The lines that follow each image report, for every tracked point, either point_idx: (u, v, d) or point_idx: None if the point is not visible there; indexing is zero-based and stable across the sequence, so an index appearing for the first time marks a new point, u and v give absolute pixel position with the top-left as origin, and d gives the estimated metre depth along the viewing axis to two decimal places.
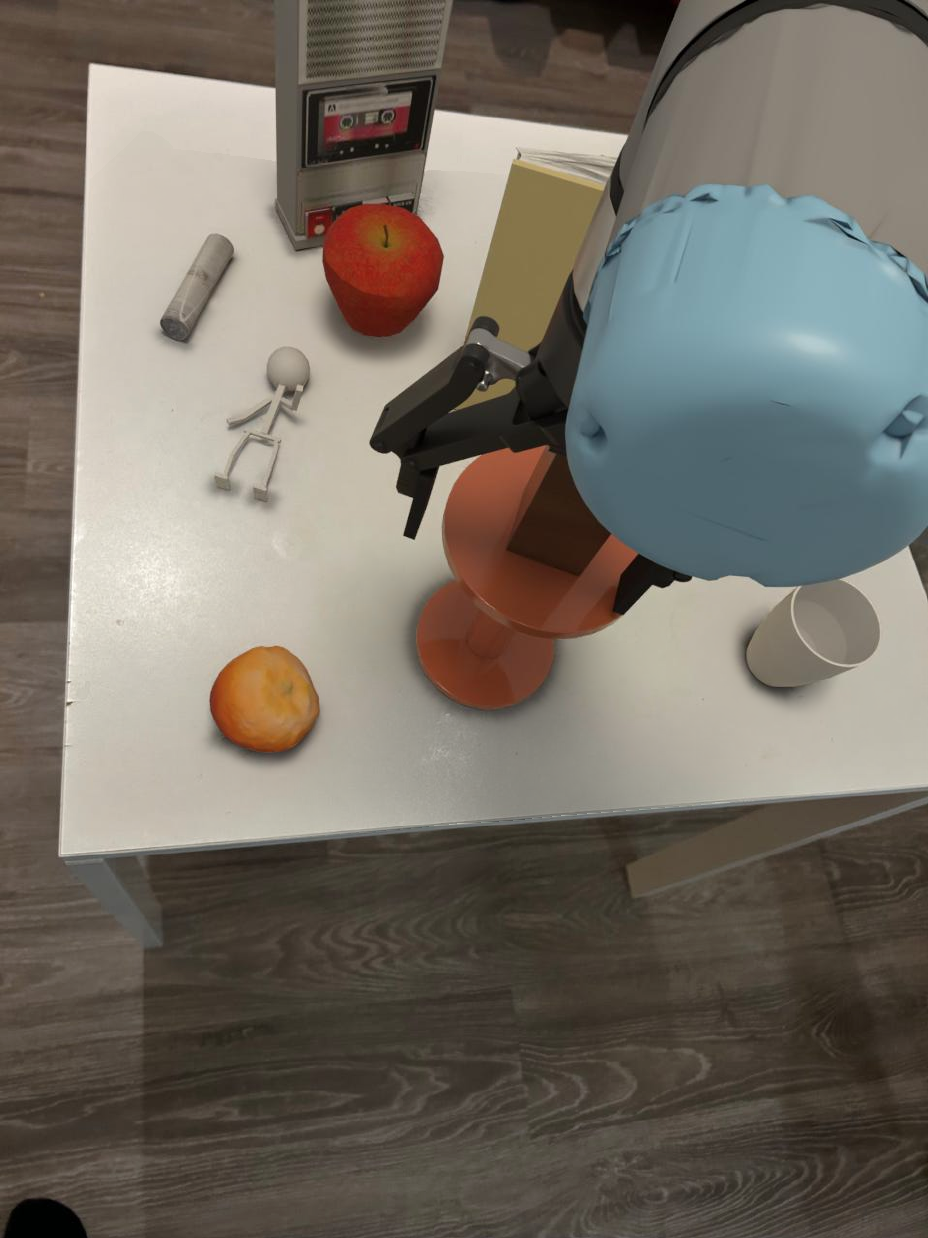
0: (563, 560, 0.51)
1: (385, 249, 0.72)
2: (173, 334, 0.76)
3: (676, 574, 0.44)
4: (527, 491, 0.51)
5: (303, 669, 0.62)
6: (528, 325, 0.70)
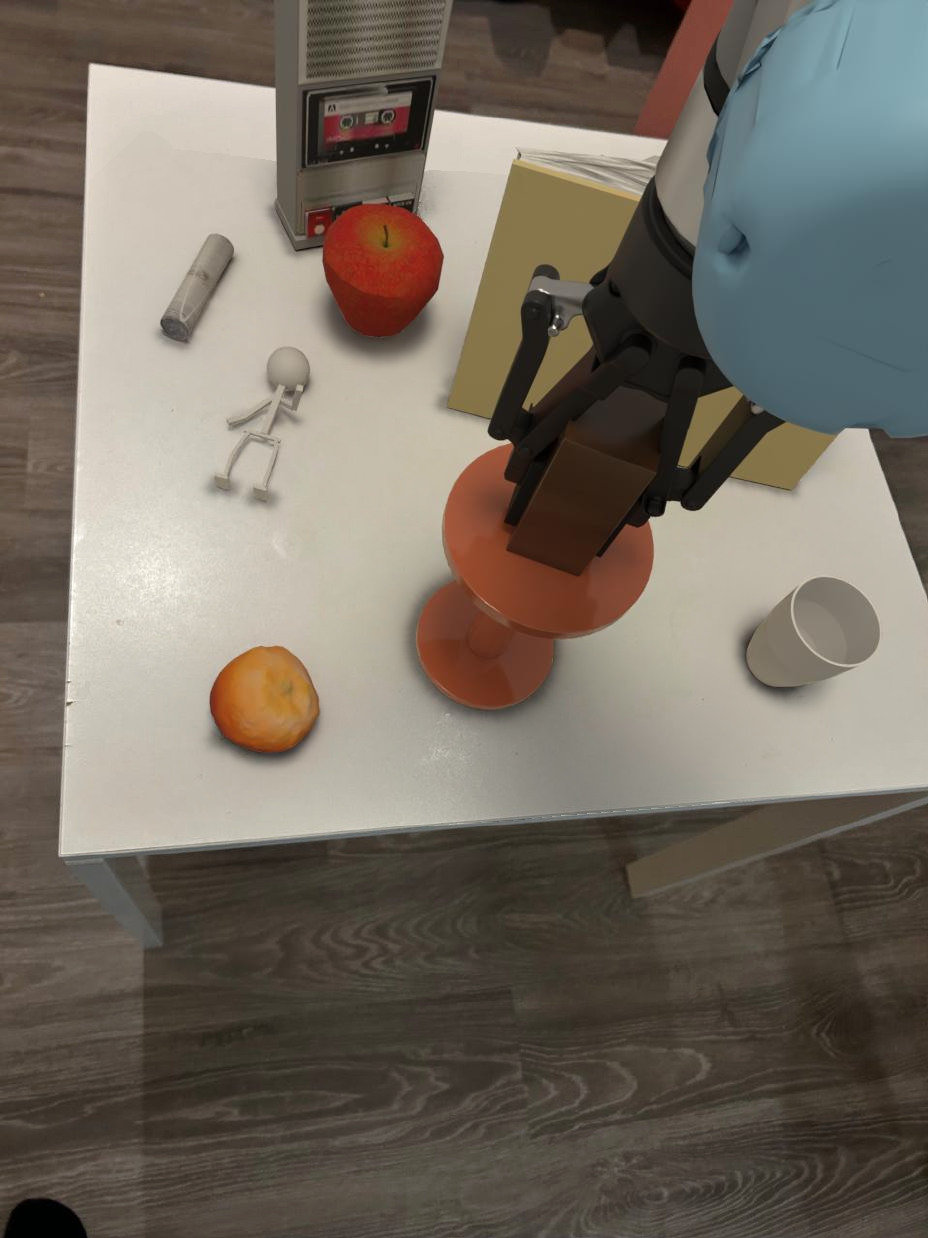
0: (563, 560, 0.50)
1: (385, 249, 0.72)
2: (173, 334, 0.76)
3: (649, 507, 0.45)
4: None
5: (303, 669, 0.62)
6: None
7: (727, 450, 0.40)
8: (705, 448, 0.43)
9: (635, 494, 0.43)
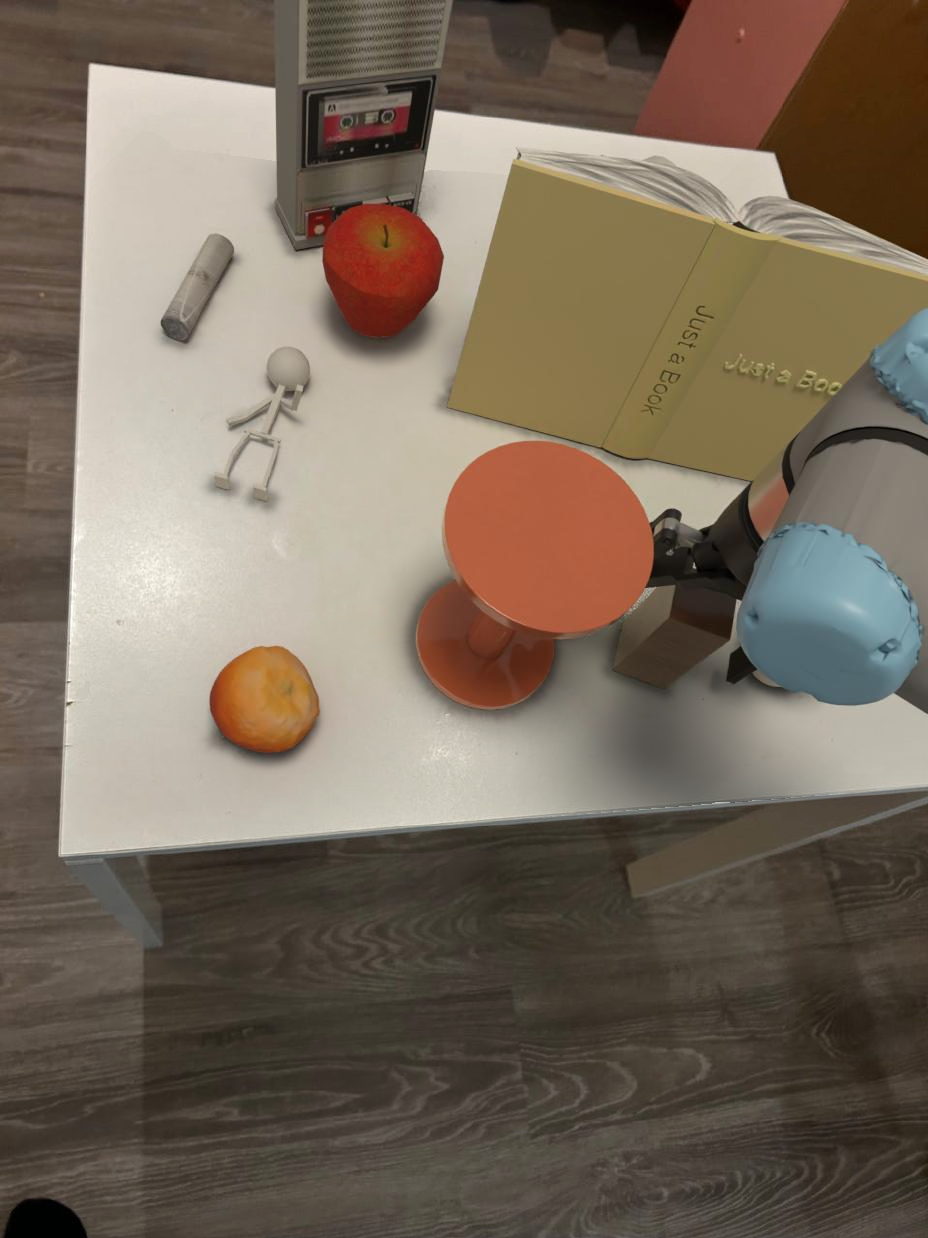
0: (654, 679, 0.71)
1: (385, 249, 0.72)
2: (173, 334, 0.76)
3: None
4: (628, 630, 0.71)
5: (303, 669, 0.62)
6: (528, 325, 0.70)
7: None
8: None
9: (714, 649, 0.63)
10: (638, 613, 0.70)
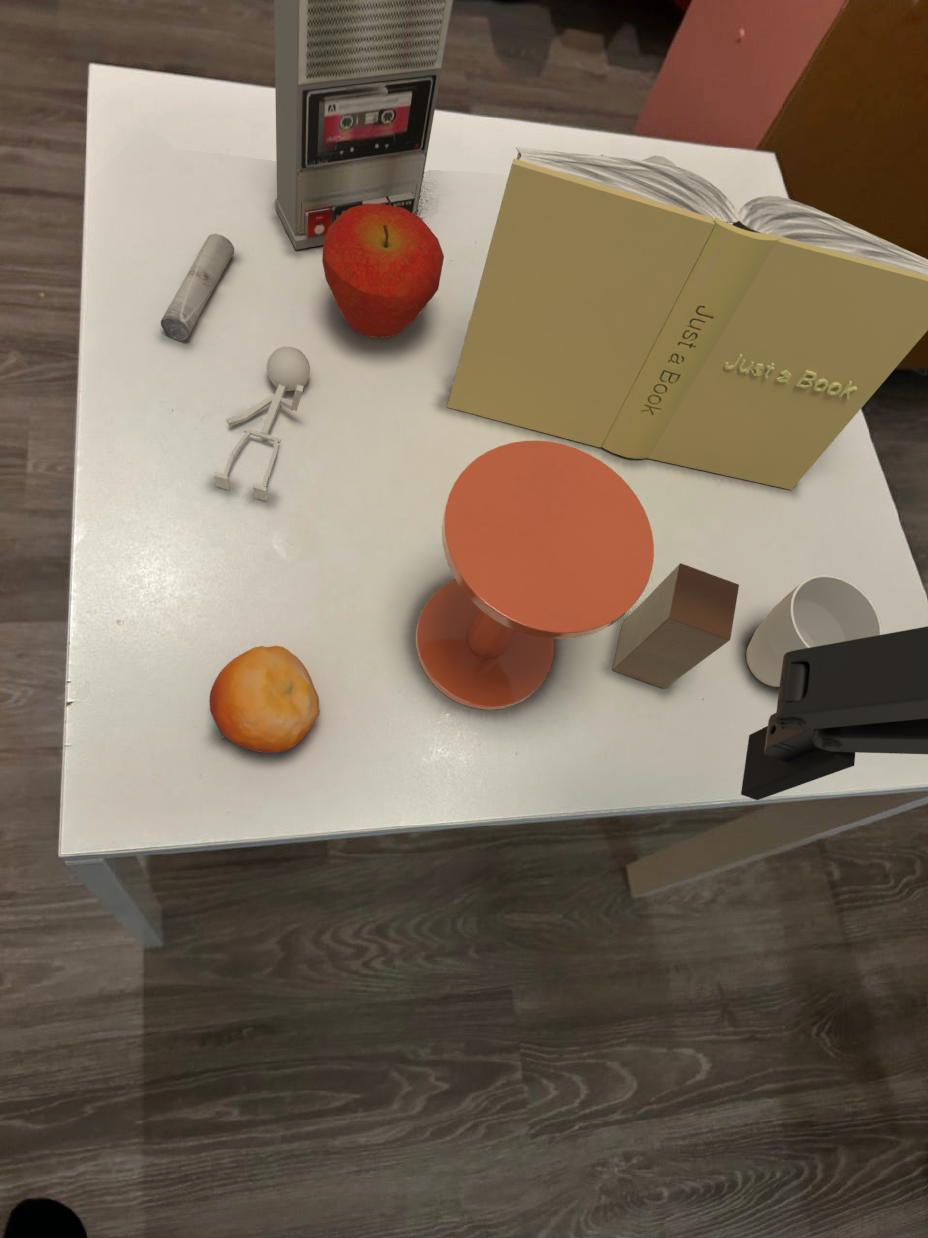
0: (654, 679, 0.71)
1: (385, 249, 0.72)
2: (174, 334, 0.76)
3: None
4: (628, 630, 0.71)
5: (303, 669, 0.62)
6: (528, 325, 0.70)
7: None
8: None
9: (714, 649, 0.63)
10: (638, 613, 0.70)
